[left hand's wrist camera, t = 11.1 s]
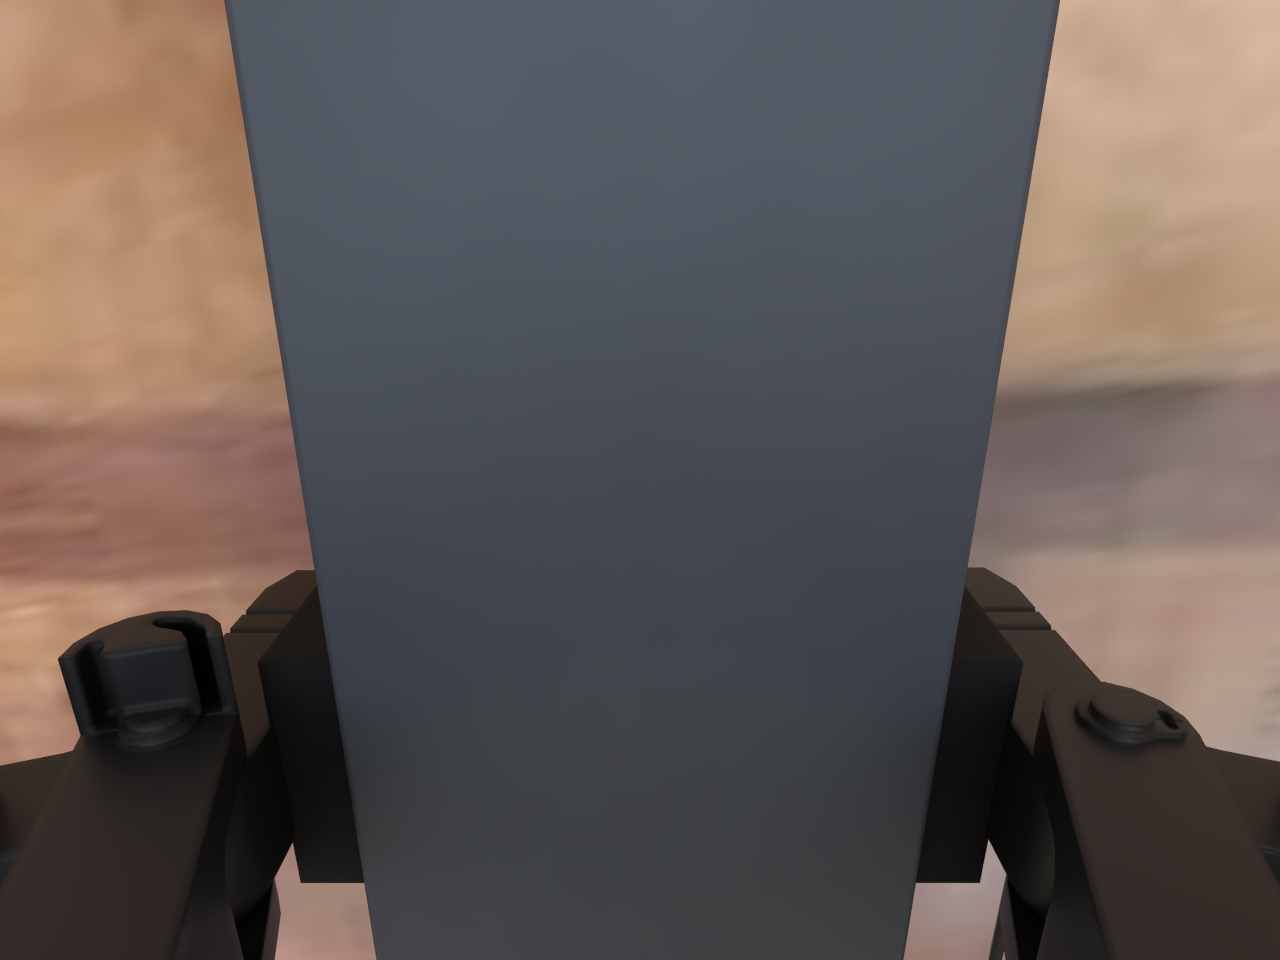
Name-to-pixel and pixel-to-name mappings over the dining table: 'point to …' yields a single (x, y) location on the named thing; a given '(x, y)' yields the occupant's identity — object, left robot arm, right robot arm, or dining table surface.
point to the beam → (641, 443)
